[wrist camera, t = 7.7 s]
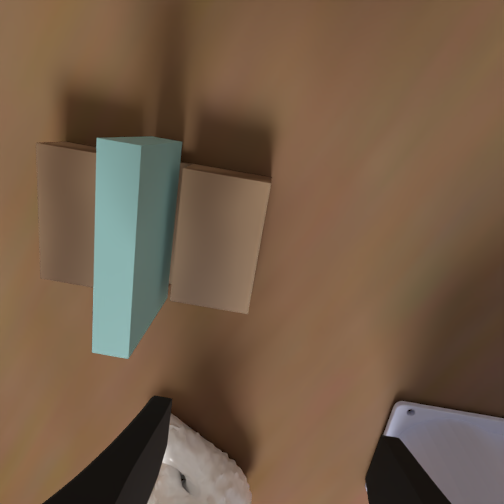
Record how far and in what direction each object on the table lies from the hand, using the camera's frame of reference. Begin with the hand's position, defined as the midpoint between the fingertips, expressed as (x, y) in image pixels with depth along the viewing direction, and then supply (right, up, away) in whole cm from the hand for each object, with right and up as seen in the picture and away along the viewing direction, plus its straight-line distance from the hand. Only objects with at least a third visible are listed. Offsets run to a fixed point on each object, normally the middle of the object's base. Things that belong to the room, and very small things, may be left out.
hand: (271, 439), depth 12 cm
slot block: (-6, +8, +8) cm, 13 cm away
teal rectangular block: (-6, +8, +8) cm, 12 cm away
